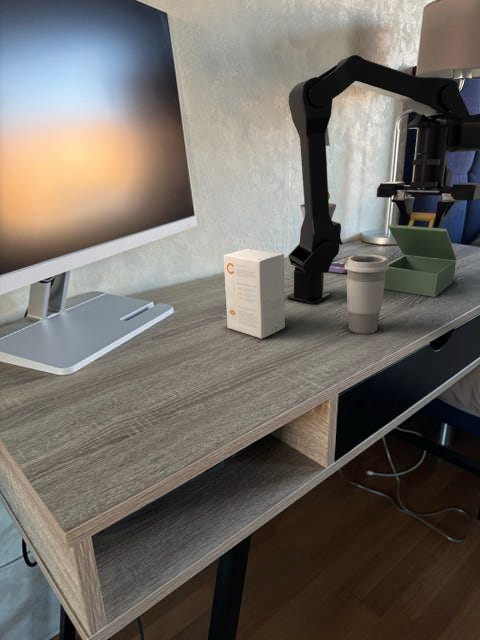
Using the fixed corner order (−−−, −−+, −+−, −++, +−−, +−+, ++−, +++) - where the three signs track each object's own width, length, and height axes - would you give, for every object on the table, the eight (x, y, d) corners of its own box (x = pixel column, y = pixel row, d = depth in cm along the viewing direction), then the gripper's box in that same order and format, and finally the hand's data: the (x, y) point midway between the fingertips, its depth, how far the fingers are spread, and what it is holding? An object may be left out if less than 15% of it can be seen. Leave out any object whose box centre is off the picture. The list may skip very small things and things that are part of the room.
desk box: (434, 297, 88) (437, 274, 87) (379, 288, 95) (381, 266, 93) (453, 282, 97) (456, 261, 95) (401, 274, 104) (403, 255, 102)
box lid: (446, 231, 85) (453, 209, 86) (388, 227, 92) (394, 206, 93) (455, 260, 95) (461, 241, 96) (403, 254, 102) (409, 236, 103)
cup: (364, 318, 79) (369, 251, 75) (393, 330, 74) (399, 259, 69) (333, 326, 76) (335, 257, 72) (360, 339, 71) (364, 266, 66)
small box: (285, 328, 76) (285, 253, 72) (261, 339, 72) (259, 261, 67) (250, 317, 81) (248, 247, 77) (226, 328, 77) (222, 254, 73)
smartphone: (318, 270, 110) (348, 258, 121) (345, 274, 106) (374, 261, 116) (318, 266, 110) (348, 255, 120) (345, 270, 105) (374, 258, 115)
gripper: (493, 150, 86) (481, 231, 92) (399, 153, 98) (393, 225, 103) (479, 152, 78) (466, 240, 84) (378, 155, 90) (372, 232, 95)
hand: (422, 233), depth 92 cm, fingers open, 5 cm apart
